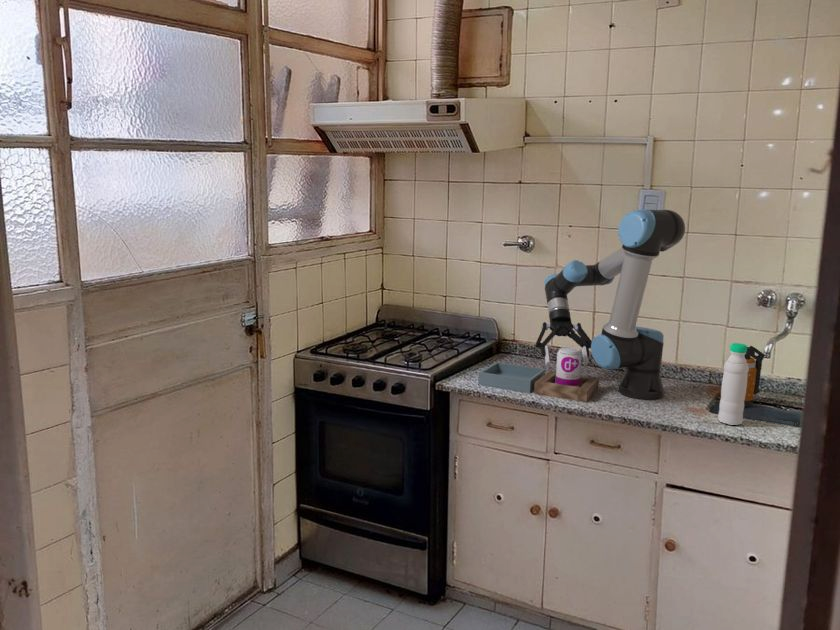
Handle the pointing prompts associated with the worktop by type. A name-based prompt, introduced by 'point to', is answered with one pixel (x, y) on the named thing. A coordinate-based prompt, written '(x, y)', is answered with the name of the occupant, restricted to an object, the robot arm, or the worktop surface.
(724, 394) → the white plastic bottle
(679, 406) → the worktop surface
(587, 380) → the can holder
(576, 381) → the white soda can
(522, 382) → the tray
